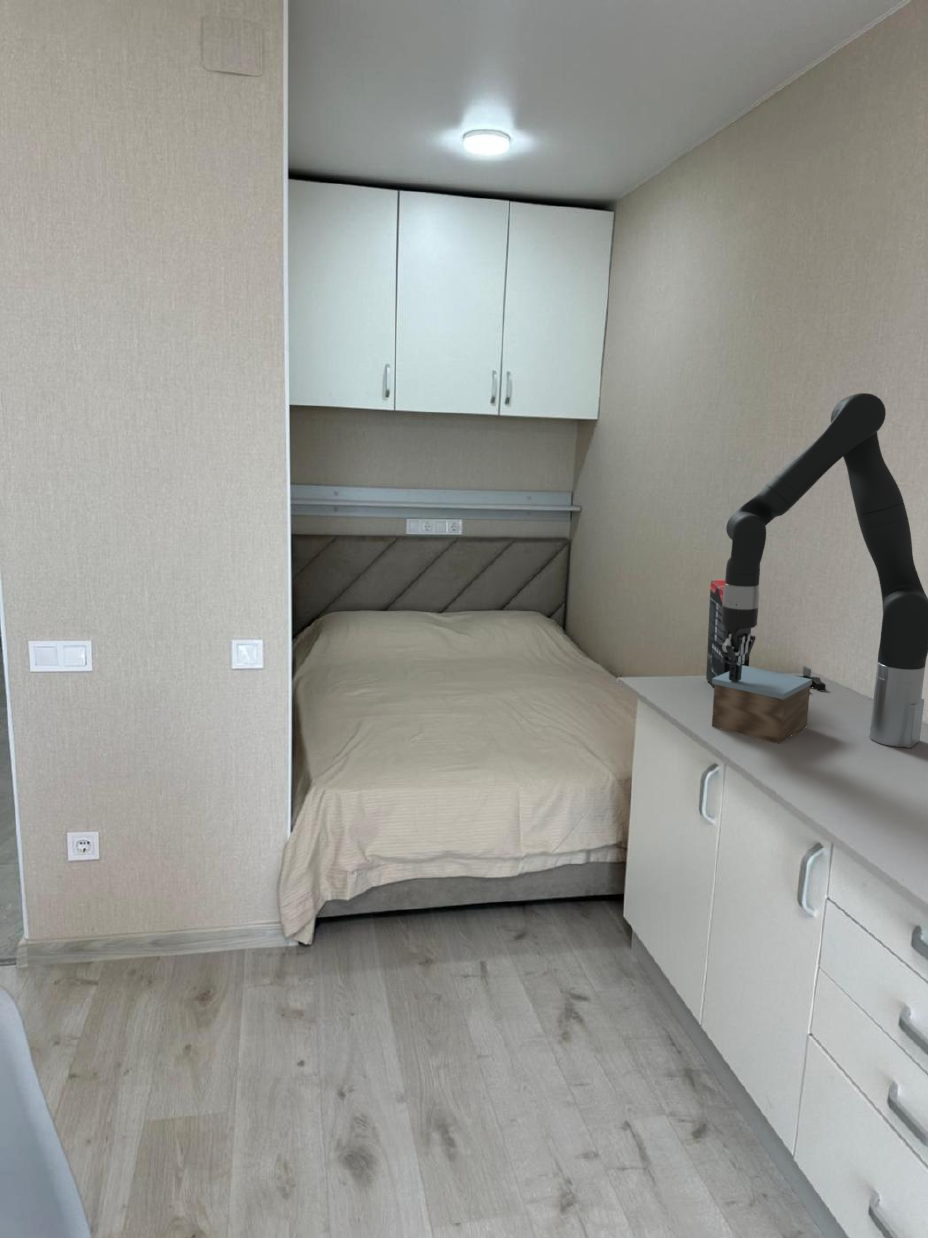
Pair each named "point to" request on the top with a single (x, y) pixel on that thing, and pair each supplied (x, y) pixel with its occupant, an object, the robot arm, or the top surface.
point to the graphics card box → (716, 634)
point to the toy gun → (813, 679)
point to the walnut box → (760, 713)
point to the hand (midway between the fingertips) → (734, 680)
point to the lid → (764, 682)
